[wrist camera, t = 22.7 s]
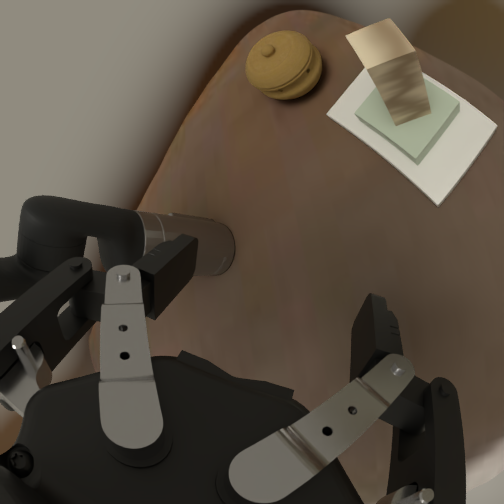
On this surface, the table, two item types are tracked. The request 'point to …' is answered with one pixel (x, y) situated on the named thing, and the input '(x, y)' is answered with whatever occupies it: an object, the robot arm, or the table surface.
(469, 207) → the table surface
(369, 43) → the birch column
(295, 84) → the pot
